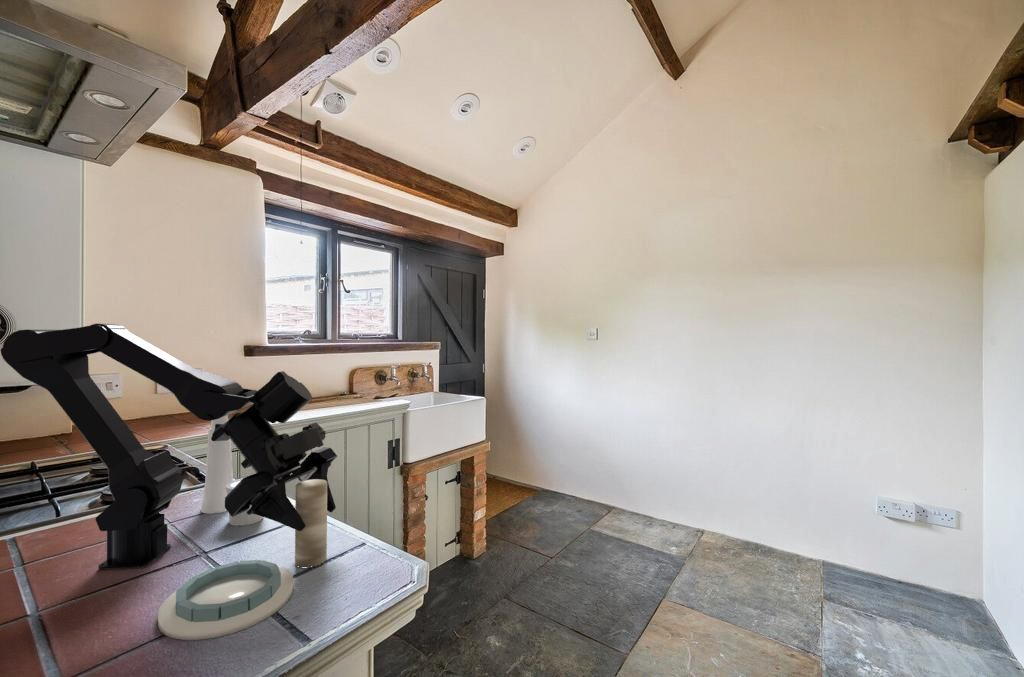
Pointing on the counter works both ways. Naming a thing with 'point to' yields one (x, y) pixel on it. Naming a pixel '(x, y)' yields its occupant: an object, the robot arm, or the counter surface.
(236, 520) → the white cup
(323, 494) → the birch cylinder
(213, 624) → the ring dish
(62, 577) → the counter surface
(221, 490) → the cosmetic bottle
